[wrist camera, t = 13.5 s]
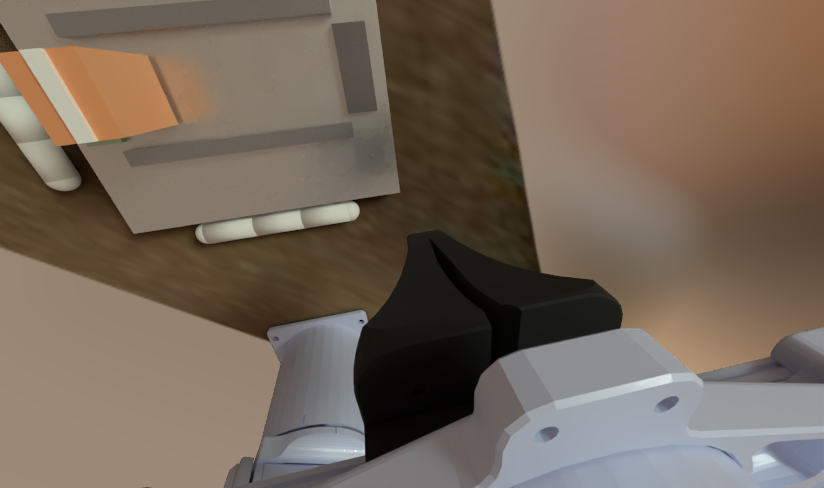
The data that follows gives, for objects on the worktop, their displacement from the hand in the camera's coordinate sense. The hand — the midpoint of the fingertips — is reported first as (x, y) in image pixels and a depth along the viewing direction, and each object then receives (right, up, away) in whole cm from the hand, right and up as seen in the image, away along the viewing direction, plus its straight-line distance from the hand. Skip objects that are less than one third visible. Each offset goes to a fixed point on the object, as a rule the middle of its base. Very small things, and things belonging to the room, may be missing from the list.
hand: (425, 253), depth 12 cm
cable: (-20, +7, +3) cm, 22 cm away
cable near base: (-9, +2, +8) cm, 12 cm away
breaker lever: (-14, +8, +2) cm, 16 cm away
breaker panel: (-10, +9, +4) cm, 14 cm away
